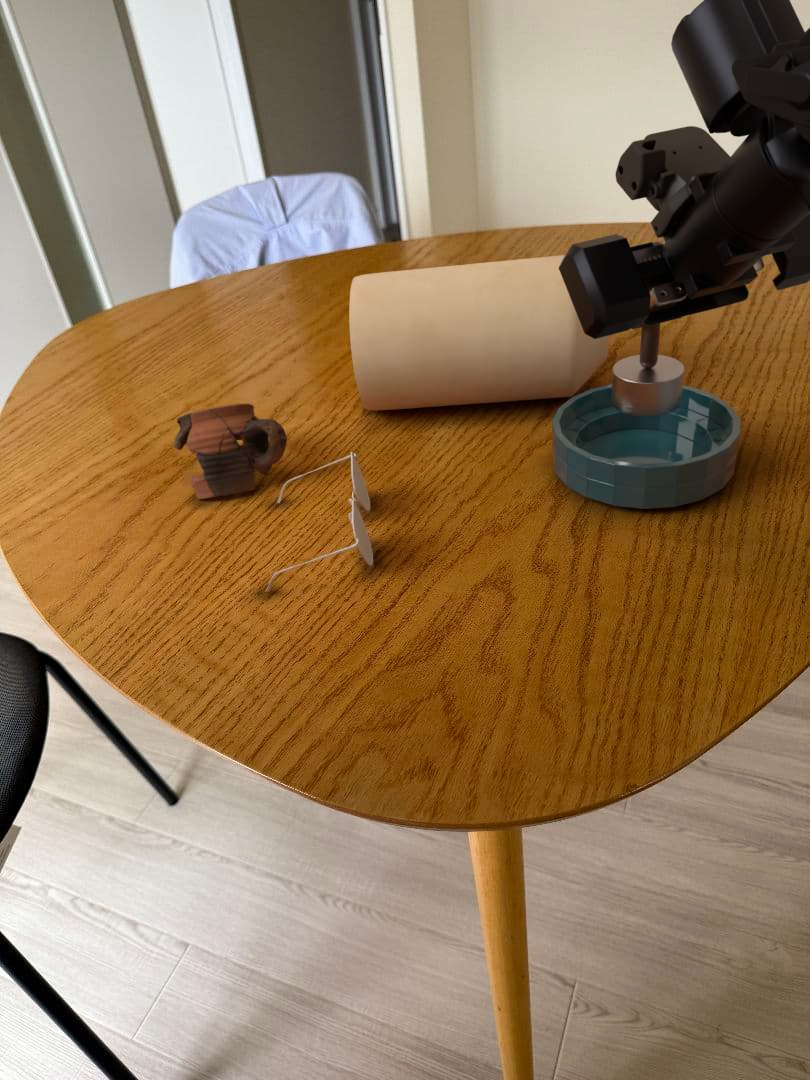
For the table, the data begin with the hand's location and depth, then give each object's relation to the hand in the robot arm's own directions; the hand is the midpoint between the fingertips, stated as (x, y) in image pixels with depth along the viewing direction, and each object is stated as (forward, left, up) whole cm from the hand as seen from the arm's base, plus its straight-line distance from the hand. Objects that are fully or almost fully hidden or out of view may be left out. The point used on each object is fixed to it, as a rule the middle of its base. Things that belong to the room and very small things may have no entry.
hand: (641, 320), depth 63 cm
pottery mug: (+24, +28, -13) cm, 39 cm away
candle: (+20, +1, -13) cm, 24 cm away
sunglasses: (+9, +27, -13) cm, 32 cm away
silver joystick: (-1, 0, -7) cm, 7 cm away
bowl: (-1, 0, -13) cm, 13 cm away
